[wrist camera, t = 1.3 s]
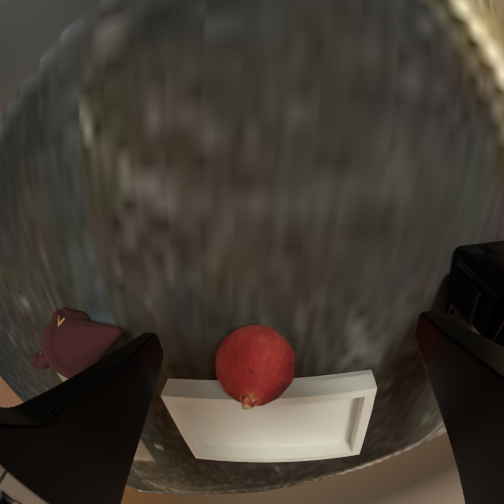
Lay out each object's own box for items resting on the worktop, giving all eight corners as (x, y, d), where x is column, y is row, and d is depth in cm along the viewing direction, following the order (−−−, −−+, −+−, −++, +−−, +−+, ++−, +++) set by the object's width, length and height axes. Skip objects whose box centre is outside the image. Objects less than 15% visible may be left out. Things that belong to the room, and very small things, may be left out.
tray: (371, 369, 24) (377, 387, 22) (356, 438, 29) (359, 454, 26) (168, 378, 27) (160, 395, 24) (199, 443, 31) (195, 458, 29)
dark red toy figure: (66, 299, 17) (10, 334, 22) (115, 394, 17) (41, 396, 22) (126, 275, 23) (53, 315, 28) (164, 353, 23) (80, 370, 28)
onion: (307, 322, 23) (315, 397, 15) (274, 368, 25) (270, 440, 17) (241, 293, 22) (222, 365, 15) (214, 344, 24) (192, 414, 17)
